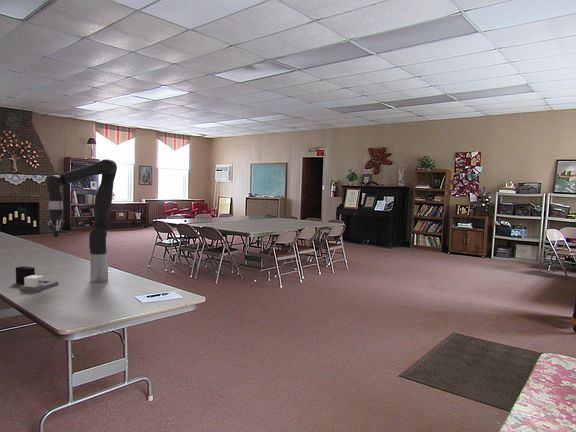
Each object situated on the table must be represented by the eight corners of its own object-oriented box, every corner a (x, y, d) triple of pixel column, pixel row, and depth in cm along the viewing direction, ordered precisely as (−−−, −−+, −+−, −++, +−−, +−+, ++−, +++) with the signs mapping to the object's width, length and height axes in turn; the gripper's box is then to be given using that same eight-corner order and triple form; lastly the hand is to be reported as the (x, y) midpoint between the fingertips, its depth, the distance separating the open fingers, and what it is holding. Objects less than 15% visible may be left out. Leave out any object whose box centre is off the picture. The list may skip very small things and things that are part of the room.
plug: (47, 288, 232) (46, 276, 231) (38, 291, 226) (38, 278, 225) (32, 287, 233) (32, 275, 233) (24, 289, 227) (24, 277, 227)
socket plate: (58, 285, 241) (58, 281, 241) (37, 292, 225) (37, 288, 225) (41, 283, 243) (41, 279, 242) (19, 290, 227) (19, 286, 227)
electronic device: (28, 285, 237) (28, 268, 237) (15, 283, 241) (15, 267, 240) (35, 284, 241) (34, 267, 241) (22, 282, 245) (22, 265, 244)
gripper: (53, 209, 241) (53, 238, 243) (68, 208, 254) (69, 235, 256) (42, 208, 242) (42, 237, 244) (58, 207, 255) (58, 235, 257)
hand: (56, 236), depth 250 cm, fingers closed
